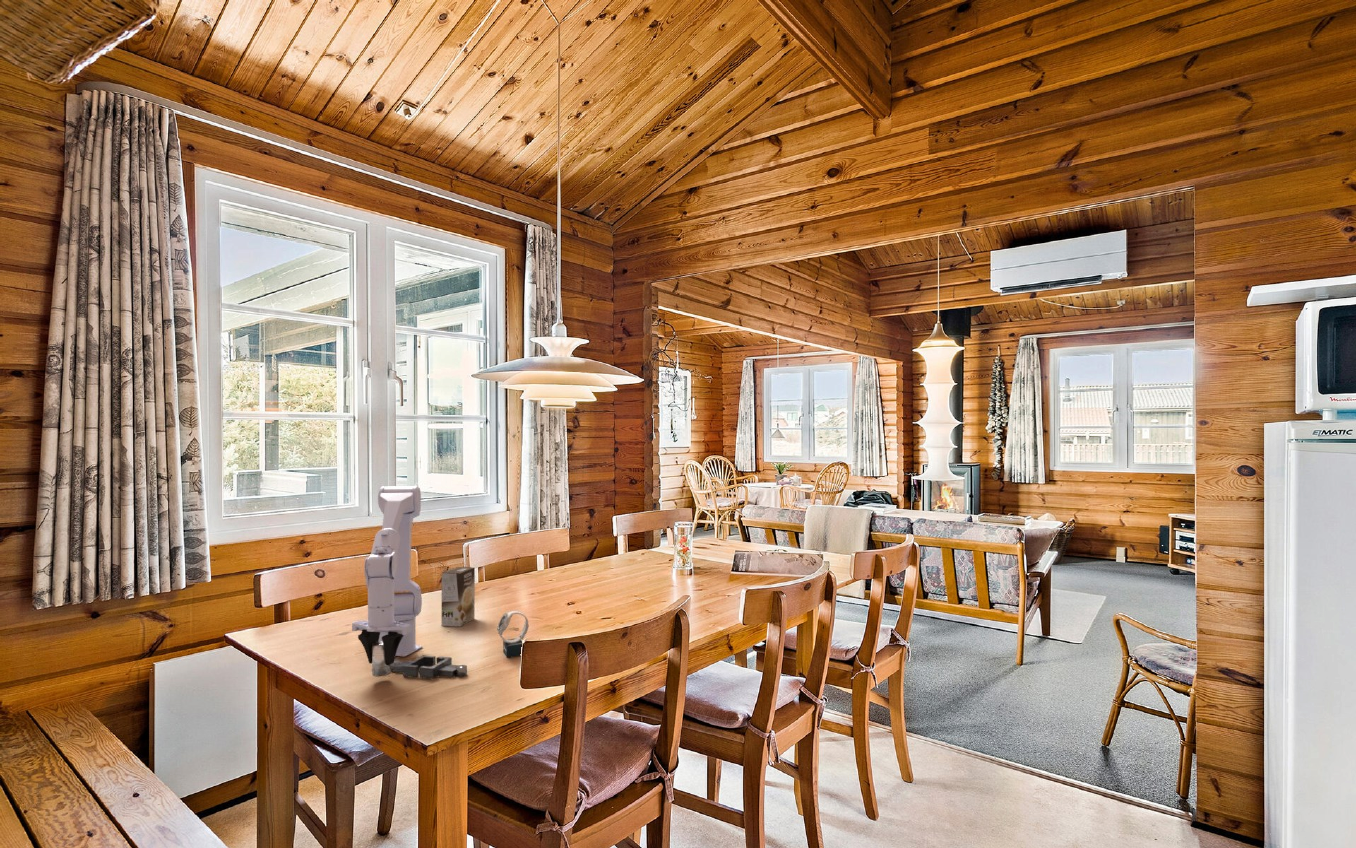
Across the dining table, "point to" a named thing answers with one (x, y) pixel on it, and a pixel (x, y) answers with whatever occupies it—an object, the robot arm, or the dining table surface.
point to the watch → (511, 645)
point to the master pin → (379, 660)
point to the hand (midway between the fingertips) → (381, 663)
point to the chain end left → (412, 665)
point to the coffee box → (458, 596)
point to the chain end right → (443, 669)
